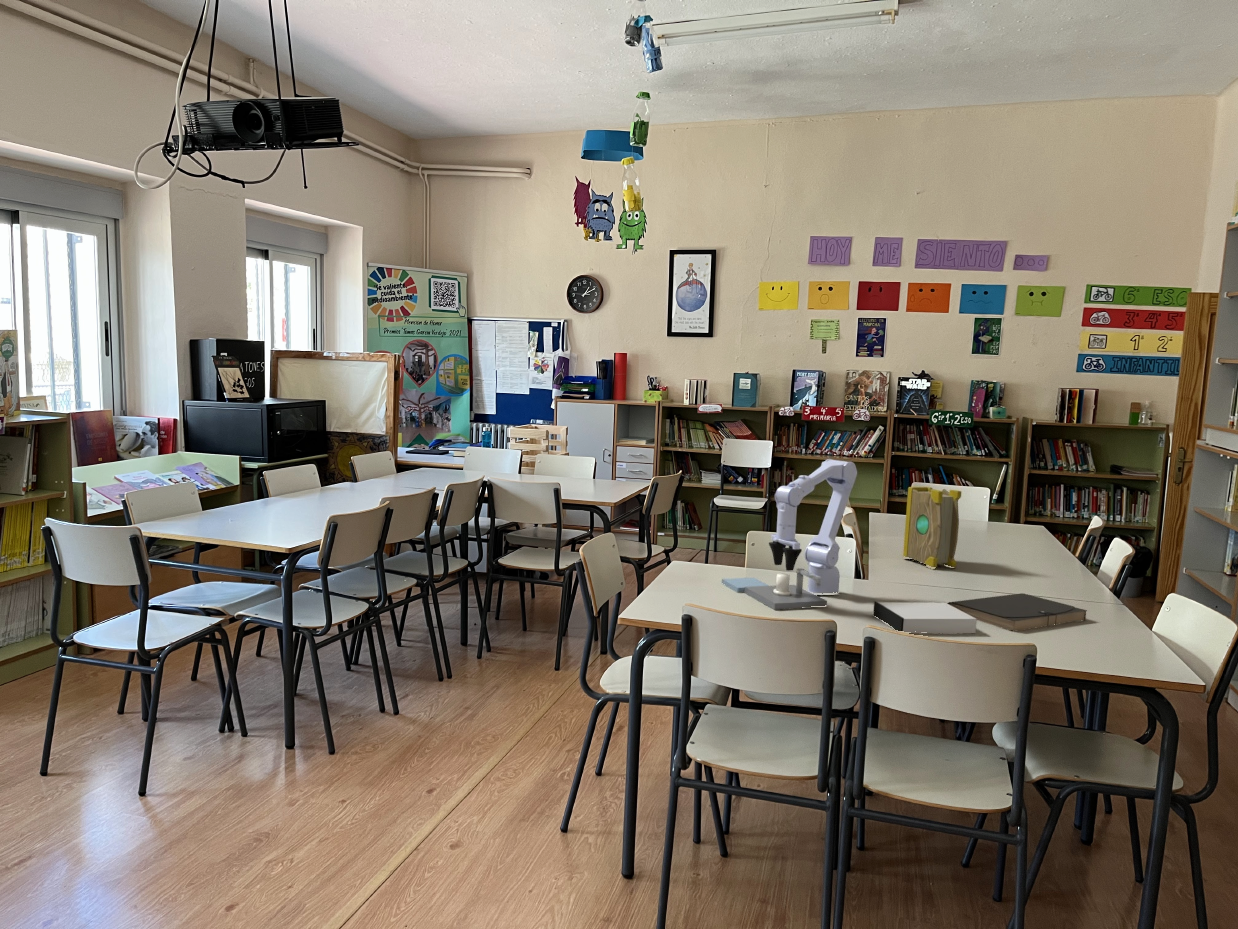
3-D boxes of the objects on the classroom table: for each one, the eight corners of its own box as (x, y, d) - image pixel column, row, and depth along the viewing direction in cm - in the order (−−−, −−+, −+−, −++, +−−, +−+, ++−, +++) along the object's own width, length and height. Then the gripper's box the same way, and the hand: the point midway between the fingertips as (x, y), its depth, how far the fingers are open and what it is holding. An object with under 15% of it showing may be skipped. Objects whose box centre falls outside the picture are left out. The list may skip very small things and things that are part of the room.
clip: (794, 576, 265) (795, 568, 265) (801, 576, 266) (801, 568, 266) (815, 586, 254) (815, 577, 254) (822, 585, 255) (822, 577, 255)
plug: (785, 597, 267) (786, 572, 266) (793, 601, 262) (795, 576, 261) (769, 598, 265) (771, 573, 264) (778, 602, 260) (779, 577, 259)
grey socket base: (793, 590, 276) (795, 565, 275) (826, 607, 257) (828, 580, 256) (744, 592, 270) (745, 567, 270) (774, 610, 251) (776, 582, 251)
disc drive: (872, 617, 250) (873, 601, 249) (943, 617, 253) (944, 601, 252) (899, 635, 232) (901, 618, 232) (975, 635, 235) (977, 618, 235)
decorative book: (900, 558, 335) (906, 484, 332) (923, 558, 338) (929, 484, 335) (933, 570, 316) (940, 491, 313) (957, 569, 319) (964, 491, 316)
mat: (753, 582, 286) (753, 577, 286) (770, 590, 274) (770, 586, 274) (721, 583, 282) (721, 578, 282) (737, 592, 271) (737, 587, 271)
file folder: (1015, 619, 238) (946, 599, 260) (1014, 634, 239) (945, 612, 260) (1088, 609, 254) (1018, 591, 275) (1087, 622, 254) (1017, 603, 275)
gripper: (763, 520, 267) (761, 562, 268) (786, 529, 253) (783, 573, 254) (783, 520, 269) (781, 562, 270) (807, 528, 255) (804, 572, 256)
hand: (783, 567), depth 262 cm, fingers open, 7 cm apart
